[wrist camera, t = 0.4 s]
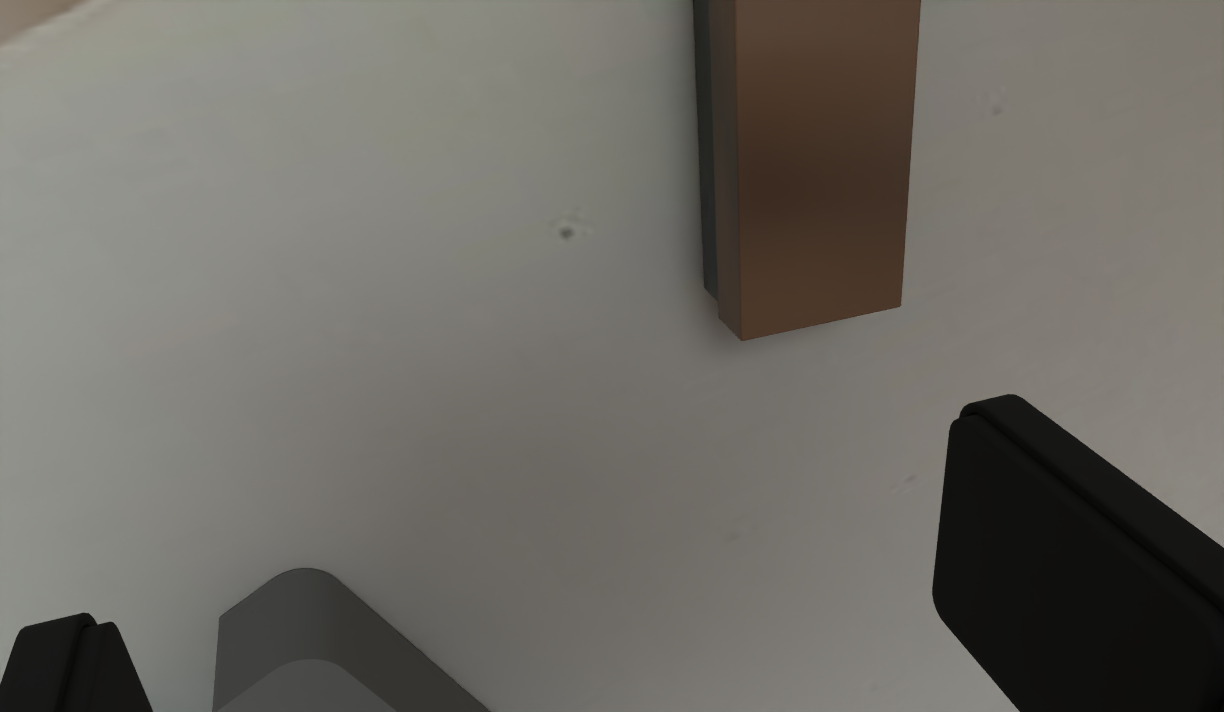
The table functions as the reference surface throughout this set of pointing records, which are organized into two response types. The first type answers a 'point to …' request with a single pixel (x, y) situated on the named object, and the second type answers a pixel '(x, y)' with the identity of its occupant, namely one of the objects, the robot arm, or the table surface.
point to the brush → (804, 157)
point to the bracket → (323, 655)
